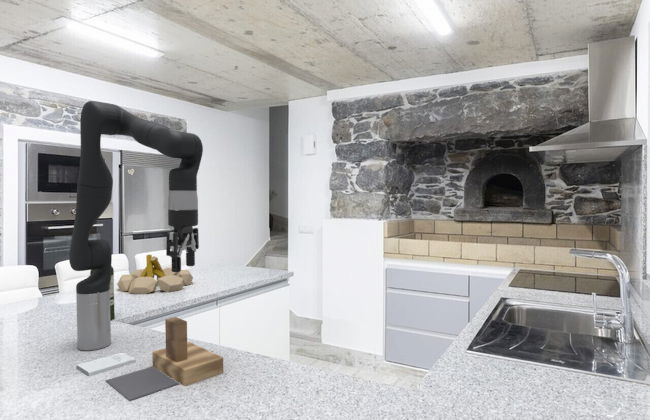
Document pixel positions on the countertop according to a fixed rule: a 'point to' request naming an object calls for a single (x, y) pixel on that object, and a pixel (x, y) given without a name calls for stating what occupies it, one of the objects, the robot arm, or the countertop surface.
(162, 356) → the wooden block
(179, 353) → the brown wood brick
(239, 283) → the countertop surface
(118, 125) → the robot arm
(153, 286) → the campfire
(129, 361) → the external hard drive
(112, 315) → the wine bottle
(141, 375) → the mat
